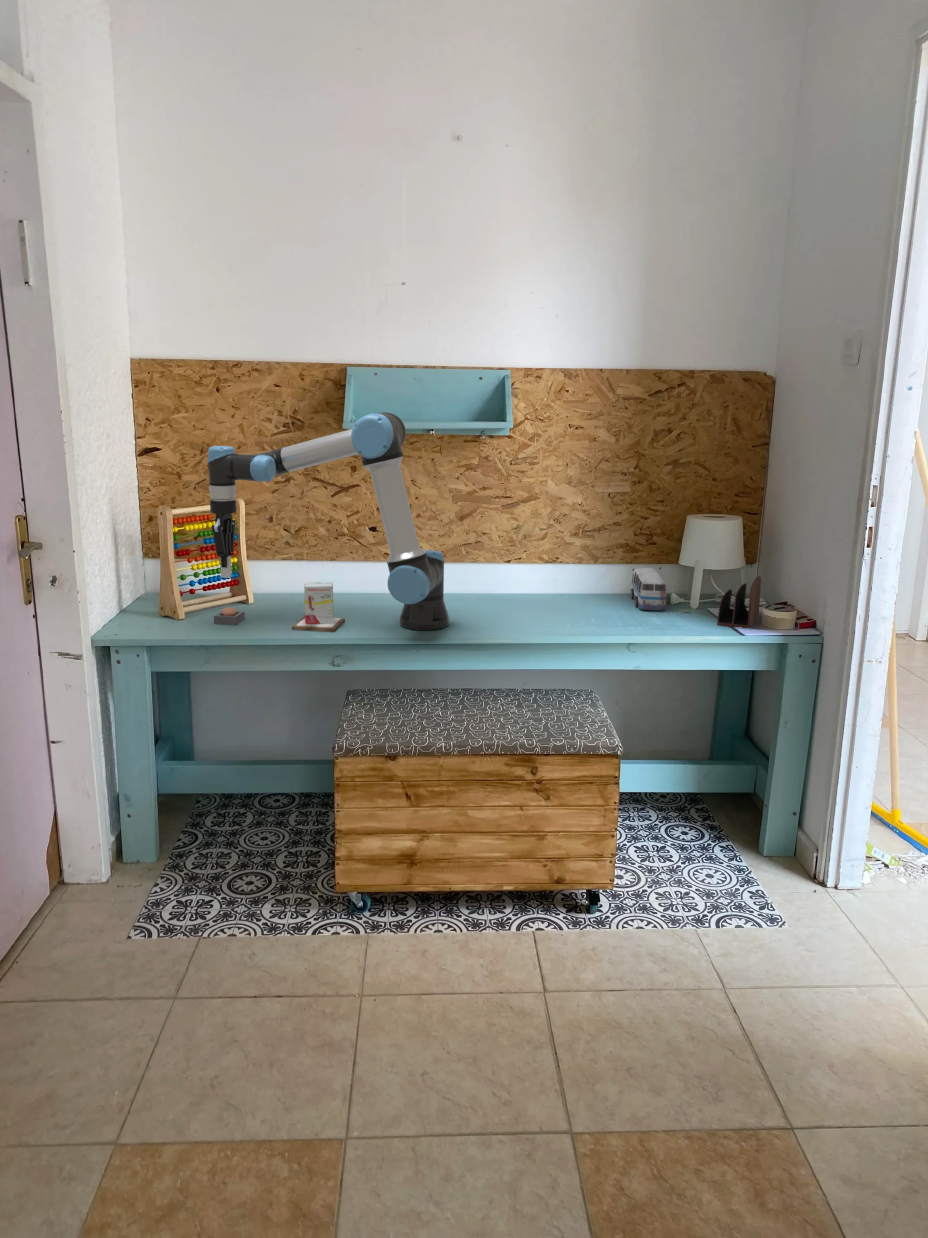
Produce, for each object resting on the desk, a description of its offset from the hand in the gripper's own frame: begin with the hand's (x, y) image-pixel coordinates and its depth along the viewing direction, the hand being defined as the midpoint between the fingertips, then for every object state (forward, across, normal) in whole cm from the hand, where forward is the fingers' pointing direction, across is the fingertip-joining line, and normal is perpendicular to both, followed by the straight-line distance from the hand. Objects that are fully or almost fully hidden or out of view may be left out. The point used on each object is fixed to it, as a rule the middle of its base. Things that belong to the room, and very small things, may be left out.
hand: (226, 577), depth 276 cm
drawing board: (+14, -1, +28) cm, 32 cm away
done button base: (+14, 0, 0) cm, 14 cm away
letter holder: (+13, -34, +157) cm, 161 cm away
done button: (+12, 0, 0) cm, 12 cm away
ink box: (+13, -1, +28) cm, 31 cm away
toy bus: (+13, -52, +129) cm, 140 cm away
